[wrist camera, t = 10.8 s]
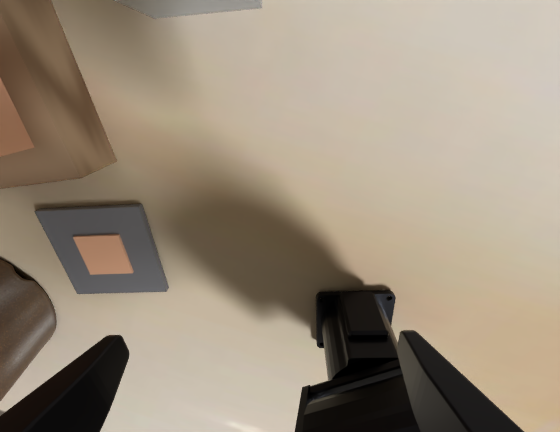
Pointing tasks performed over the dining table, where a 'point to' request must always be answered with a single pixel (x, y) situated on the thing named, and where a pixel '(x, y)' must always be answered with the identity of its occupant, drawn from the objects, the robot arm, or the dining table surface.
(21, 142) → the terracotta cube
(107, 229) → the card
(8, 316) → the plant pot
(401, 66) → the dining table surface
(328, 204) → the dining table surface
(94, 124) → the tan block
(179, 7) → the slate grey cube
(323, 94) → the dining table surface
